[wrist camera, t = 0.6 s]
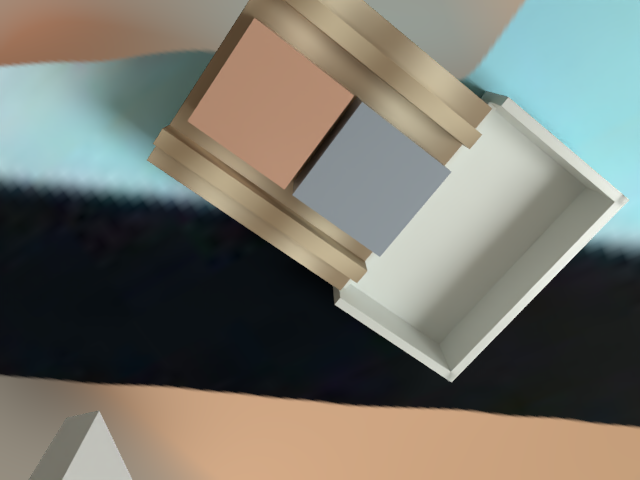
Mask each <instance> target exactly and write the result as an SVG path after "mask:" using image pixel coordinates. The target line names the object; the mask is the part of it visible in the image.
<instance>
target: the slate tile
mask: <svg viewBox="0 0 640 480" xmlns="http://www.w3.org/2000/svg"><path fill="white" fill-rule="evenodd" d="M450 173H451V171H450V170H449V169H448V168H447V167H446V166H445V165H443V164H442V163H441V162H440V161H439V160H438V159H437V158H435V157H434V156H433V155H431V154H430V153H429V152H428V151H426V150H425V149H424V148H423V147H421V146H420V145H419V144H417V143H416V142H415V141H414V140H412V139H411V138H410V137H409V136H407V135H406V134H405V133H403V132H402V131H401V130H400V129H398V128H397V127H396V126H394V125H393V124H392V123H391V122H389V121H388V120H387V119H386V118H384V117H383V116H382V115H380V114H379V113H378V112H377V111H375V110H374V109H373V108H372V107H370V106H369V105H368V104H366V103H365V102H364V101H363V100H361V99H360V98H359V97H356V99H355V100H354V101H353V103H352V104H351V105H350V107H349V108H348V109H347V111H346V112H345V113H344V115H343V116H342V117H341V119H340V120H339V121H338V123H337V124H336V125H335V127H334V128H333V129H332V131H331V132H330V133H329V135H328V136H327V138H326V139H325V140H324V142H323V143H322V144H321V146H320V147H319V148H318V150H317V151H316V152H315V154H314V155H313V156H312V158H311V159H310V160H309V162H308V163H307V164H306V166H305V167H304V168H303V170H302V171H301V172H300V174H299V175H298V176H297V178H296V179H295V180H294V185H293V193H292V195H293V196H294V197H296V198H297V199H298V200H300V201H301V202H303V203H304V204H305V205H307V206H308V207H310V208H311V209H313V210H314V211H315V212H317V213H318V214H320V215H321V216H322V217H324V218H325V219H327V220H328V221H330V222H331V223H332V224H334V225H335V226H337V227H338V228H339V229H341V230H342V231H344V232H345V233H347V234H348V235H349V236H351V237H352V238H354V239H355V240H356V241H358V242H359V243H361V244H362V245H364V246H365V247H366V248H368V249H369V250H371V251H372V252H373V253H375V254H376V255H378V256H379V257H380V256H381V255H382V254H383V253H384V252H385V250H386V249H387V248H388V247H389V246H390V244H391V243H392V242H393V241H394V240H395V239H396V237H397V236H398V235H399V234H400V233H401V231H402V230H403V229H404V228H405V227H406V225H407V224H408V223H409V222H410V221H411V220H412V218H413V217H414V216H415V215H416V214H417V212H418V211H419V210H420V209H421V208H422V206H423V205H424V204H425V203H426V202H427V201H428V199H429V198H430V197H431V196H432V195H433V193H434V192H435V191H436V190H437V189H438V188H439V186H440V185H441V184H442V183H443V182H444V180H445V179H446V178H447V177H448V176H449V174H450Z"/></svg>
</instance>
